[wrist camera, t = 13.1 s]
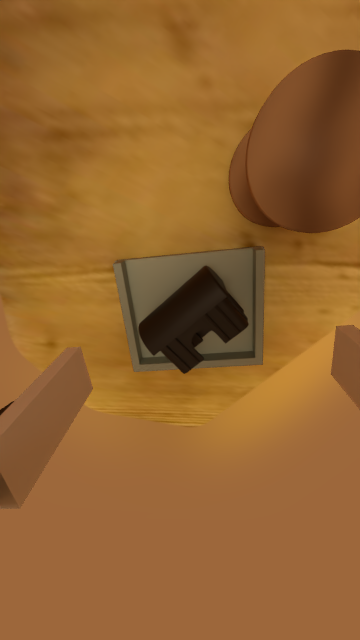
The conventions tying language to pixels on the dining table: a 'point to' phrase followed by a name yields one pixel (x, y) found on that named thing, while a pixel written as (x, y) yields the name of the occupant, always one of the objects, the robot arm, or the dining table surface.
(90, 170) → the dining table surface
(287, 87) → the bobbin spool
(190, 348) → the end cap
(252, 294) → the olive grey tray
